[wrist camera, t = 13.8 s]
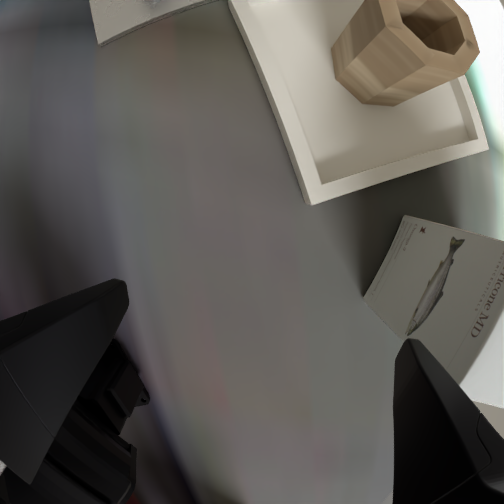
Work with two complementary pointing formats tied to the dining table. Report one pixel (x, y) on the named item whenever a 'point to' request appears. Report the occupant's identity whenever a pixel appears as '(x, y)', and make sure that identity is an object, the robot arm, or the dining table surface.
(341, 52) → the wooden pen holder
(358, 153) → the plastic tray
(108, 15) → the white square pedestal
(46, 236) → the dining table surface
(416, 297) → the supplement box
